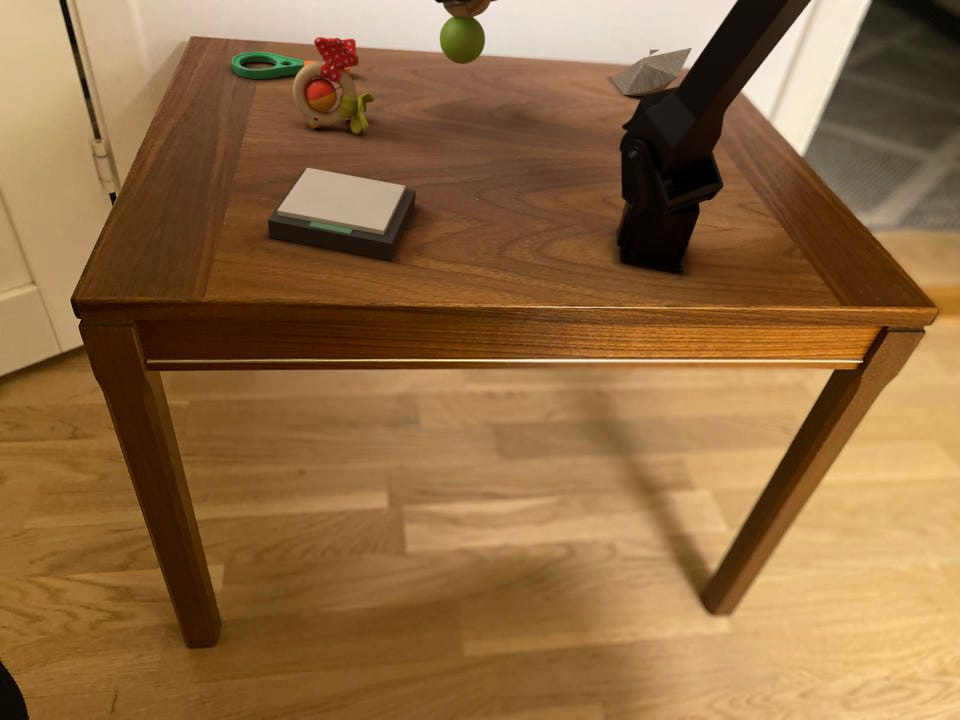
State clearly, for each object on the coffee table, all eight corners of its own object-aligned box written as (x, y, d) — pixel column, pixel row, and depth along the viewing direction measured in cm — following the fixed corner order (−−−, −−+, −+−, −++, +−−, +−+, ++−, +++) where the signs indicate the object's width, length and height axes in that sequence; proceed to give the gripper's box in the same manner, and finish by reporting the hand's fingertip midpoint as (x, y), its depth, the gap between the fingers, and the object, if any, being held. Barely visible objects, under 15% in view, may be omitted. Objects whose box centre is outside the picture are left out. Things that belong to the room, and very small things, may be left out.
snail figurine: (492, 73, 89) (504, -36, 81) (438, 69, 88) (446, -42, 80) (488, 55, 93) (500, -50, 85) (437, 51, 92) (444, -56, 84)
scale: (414, 207, 78) (416, 185, 76) (391, 260, 71) (391, 238, 69) (304, 186, 79) (302, 164, 77) (269, 237, 71) (266, 214, 69)
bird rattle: (317, 156, 87) (388, 128, 87) (271, 69, 80) (349, 38, 79) (315, 132, 92) (383, 105, 91) (271, 47, 84) (345, 17, 83)
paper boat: (601, 87, 104) (603, 46, 109) (617, 121, 108) (617, 80, 113) (687, 57, 98) (685, 15, 103) (700, 94, 103) (697, 52, 108)
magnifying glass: (229, 78, 95) (228, 64, 94) (235, 59, 100) (234, 46, 99) (349, 85, 98) (349, 72, 97) (350, 66, 102) (350, 54, 101)
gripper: (578, -161, 77) (500, -71, 91) (430, -162, 68) (367, -61, 81) (614, -56, 78) (531, 18, 92) (473, -43, 69) (404, 38, 82)
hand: (462, 2), depth 87 cm, fingers closed on snail figurine, 5 cm apart
